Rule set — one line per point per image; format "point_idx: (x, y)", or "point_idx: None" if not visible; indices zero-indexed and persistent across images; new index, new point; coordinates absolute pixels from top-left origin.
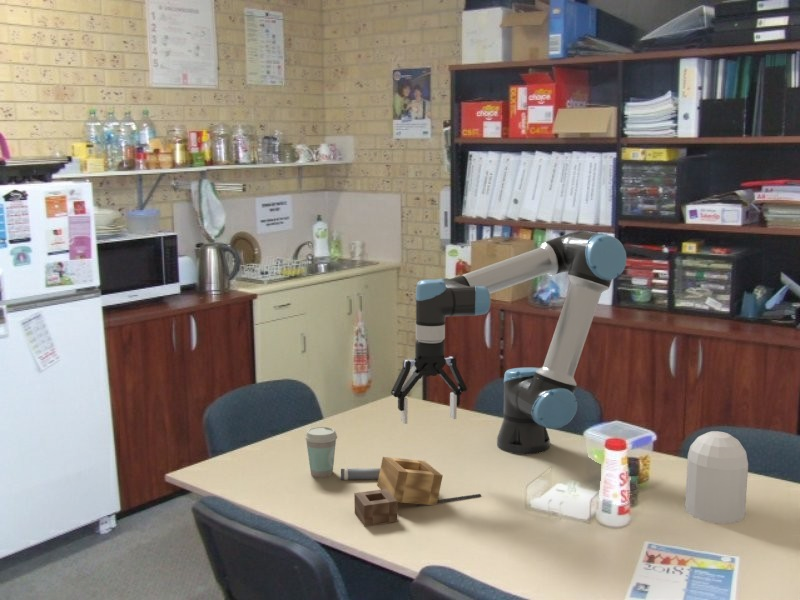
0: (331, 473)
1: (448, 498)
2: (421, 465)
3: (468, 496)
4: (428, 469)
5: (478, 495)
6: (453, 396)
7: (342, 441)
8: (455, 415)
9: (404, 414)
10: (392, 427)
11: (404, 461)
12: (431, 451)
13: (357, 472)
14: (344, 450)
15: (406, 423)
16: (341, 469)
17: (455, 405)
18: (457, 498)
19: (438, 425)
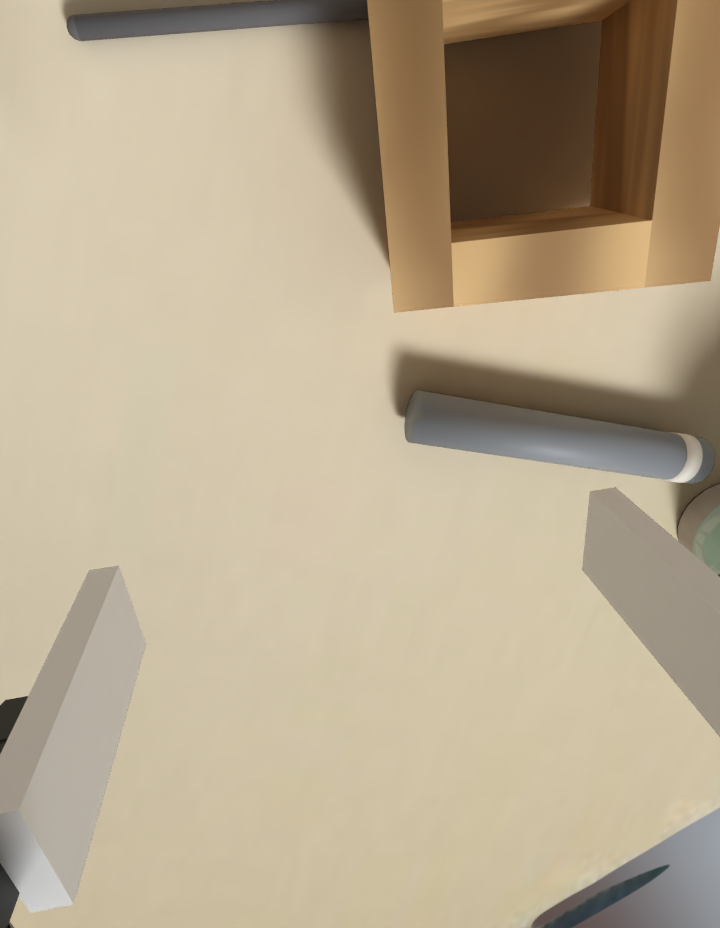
0: (698, 502)
1: (292, 6)
2: (449, 206)
3: (156, 10)
4: (439, 71)
5: (85, 16)
6: (39, 799)
7: (528, 785)
8: (88, 592)
9: (669, 541)
10: (325, 885)
11: (570, 230)
12: (230, 687)
13: (649, 438)
14: (552, 715)
15: (600, 490)
16: (710, 466)
17: (52, 678)
18: (233, 3)
19: (149, 904)
